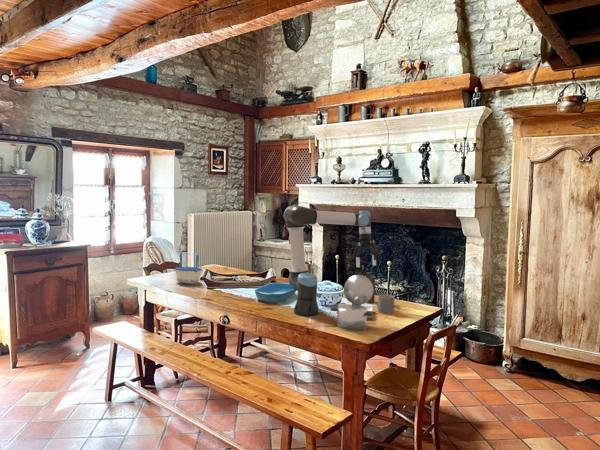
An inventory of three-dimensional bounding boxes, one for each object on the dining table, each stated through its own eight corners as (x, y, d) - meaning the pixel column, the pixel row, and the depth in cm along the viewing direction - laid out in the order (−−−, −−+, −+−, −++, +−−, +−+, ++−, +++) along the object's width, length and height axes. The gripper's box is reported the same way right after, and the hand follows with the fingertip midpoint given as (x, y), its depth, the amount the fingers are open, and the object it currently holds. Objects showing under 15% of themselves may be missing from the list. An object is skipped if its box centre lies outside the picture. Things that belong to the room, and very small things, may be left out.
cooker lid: (345, 273, 245) (347, 273, 248) (341, 303, 242) (343, 304, 245) (374, 276, 238) (375, 276, 242) (371, 307, 235) (372, 307, 238)
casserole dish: (278, 305, 271) (279, 294, 271) (248, 301, 280) (249, 290, 279) (301, 294, 305) (302, 284, 304) (274, 290, 314) (274, 281, 313)
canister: (374, 303, 283) (375, 274, 281) (358, 302, 285) (360, 273, 283) (374, 300, 293) (376, 271, 292) (359, 298, 295) (361, 270, 294)
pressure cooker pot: (326, 326, 229) (327, 308, 228) (336, 319, 243) (336, 302, 243) (369, 333, 220) (369, 314, 219) (375, 325, 234) (376, 307, 234)
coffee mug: (392, 314, 257) (393, 298, 256) (376, 312, 261) (376, 296, 260) (396, 309, 269) (396, 294, 269) (380, 307, 273) (381, 292, 272)
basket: (204, 283, 331) (205, 253, 329) (187, 286, 318) (187, 255, 316) (188, 279, 344) (189, 250, 342) (171, 282, 331) (171, 252, 329)
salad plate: (372, 320, 244) (372, 315, 244) (336, 318, 248) (336, 312, 247) (372, 311, 265) (372, 306, 265) (338, 308, 269) (338, 303, 268)
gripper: (383, 232, 271) (385, 264, 266) (354, 237, 289) (355, 268, 284) (376, 230, 266) (377, 263, 261) (347, 236, 284) (347, 267, 280)
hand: (366, 266), depth 273 cm, fingers open, 13 cm apart
